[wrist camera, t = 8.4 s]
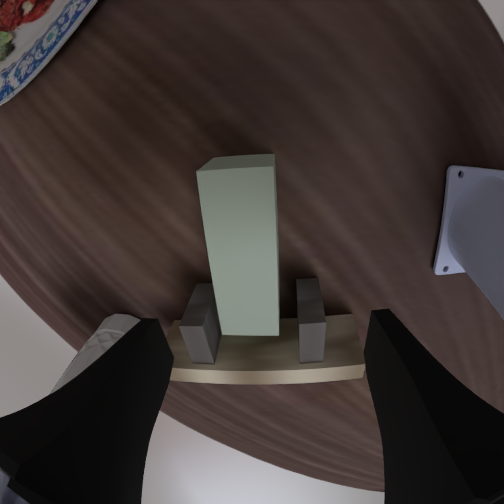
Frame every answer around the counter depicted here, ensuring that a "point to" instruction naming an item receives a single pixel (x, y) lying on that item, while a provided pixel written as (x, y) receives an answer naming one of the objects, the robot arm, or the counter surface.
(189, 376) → the wooden base
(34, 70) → the ceramic plate
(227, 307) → the block
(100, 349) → the white cup
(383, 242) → the counter surface
